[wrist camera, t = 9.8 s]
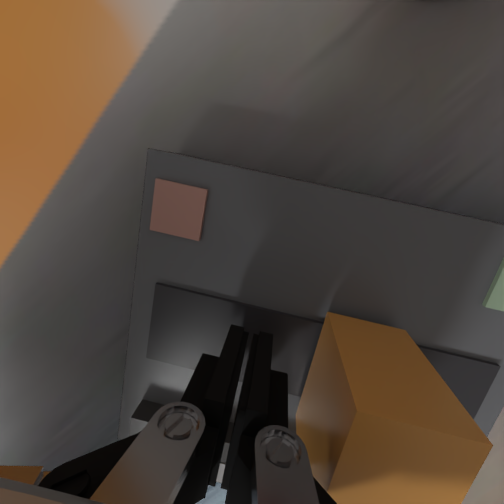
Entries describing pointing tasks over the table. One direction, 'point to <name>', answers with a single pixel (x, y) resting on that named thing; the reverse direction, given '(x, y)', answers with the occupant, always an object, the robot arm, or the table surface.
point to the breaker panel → (303, 282)
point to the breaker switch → (384, 420)
